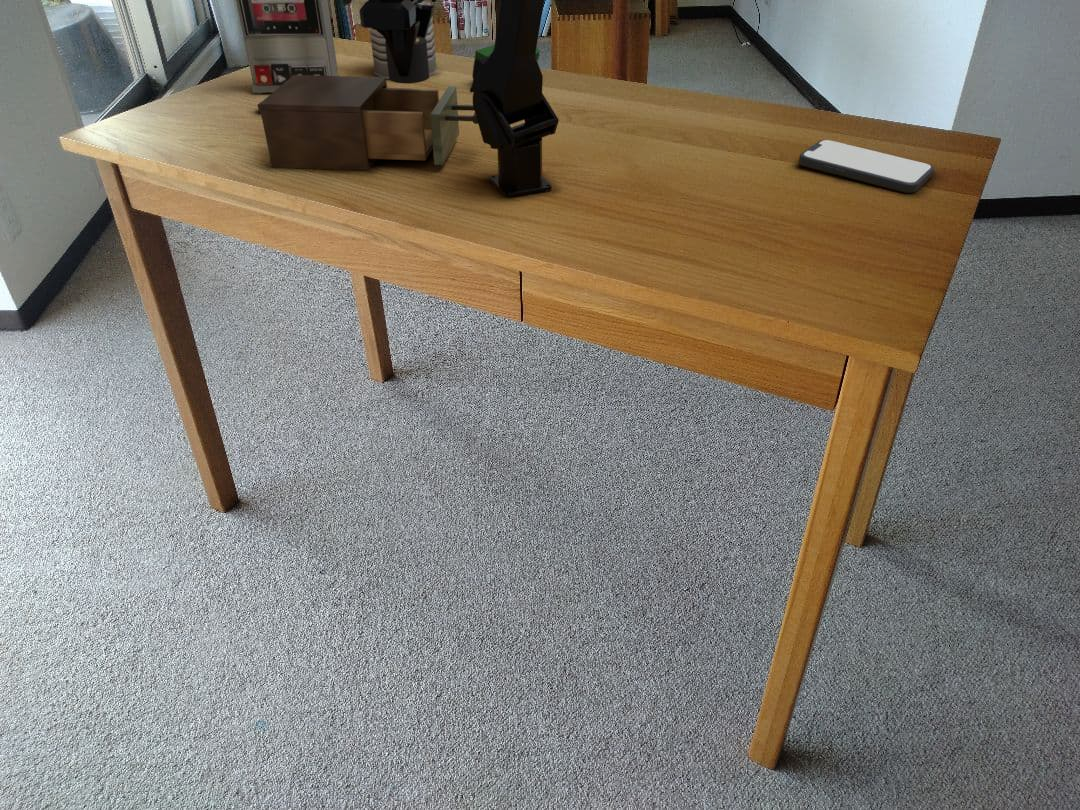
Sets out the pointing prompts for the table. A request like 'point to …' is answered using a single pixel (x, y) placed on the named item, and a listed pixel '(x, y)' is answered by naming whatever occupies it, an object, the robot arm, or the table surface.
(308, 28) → the cassette tape recorder
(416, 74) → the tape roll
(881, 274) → the table surface
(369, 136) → the drawer
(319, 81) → the cabinet
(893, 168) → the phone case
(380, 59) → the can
